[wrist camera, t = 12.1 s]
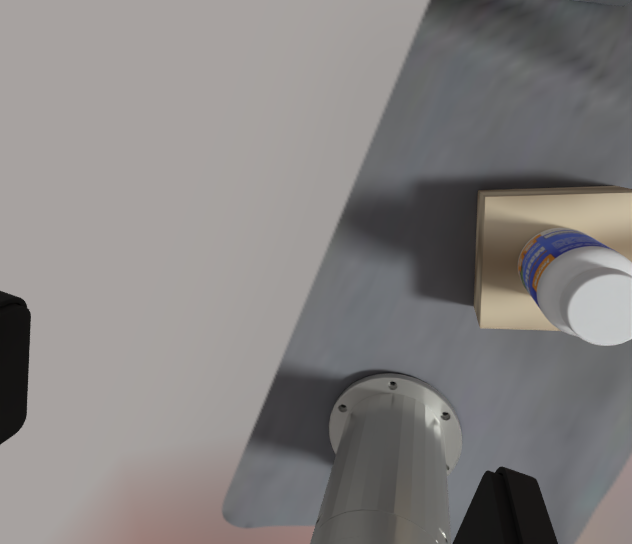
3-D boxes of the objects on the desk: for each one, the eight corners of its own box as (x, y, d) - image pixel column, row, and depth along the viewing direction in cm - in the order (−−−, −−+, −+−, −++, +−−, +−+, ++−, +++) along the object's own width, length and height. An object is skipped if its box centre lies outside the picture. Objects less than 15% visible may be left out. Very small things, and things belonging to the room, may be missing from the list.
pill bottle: (514, 230, 33) (548, 263, 24) (599, 222, 31) (670, 254, 22) (517, 302, 34) (551, 360, 25) (599, 297, 33) (666, 356, 24)
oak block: (602, 309, 38) (627, 332, 33) (473, 306, 40) (480, 328, 35) (615, 185, 35) (645, 192, 30) (477, 190, 37) (485, 197, 33)
